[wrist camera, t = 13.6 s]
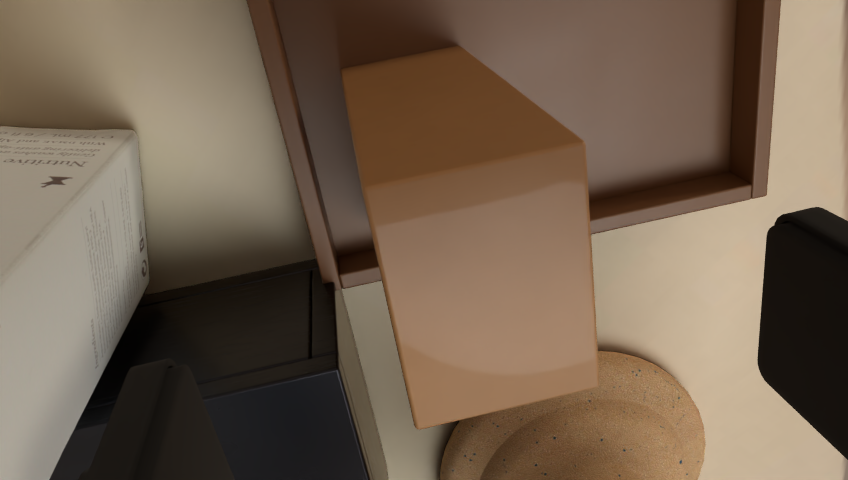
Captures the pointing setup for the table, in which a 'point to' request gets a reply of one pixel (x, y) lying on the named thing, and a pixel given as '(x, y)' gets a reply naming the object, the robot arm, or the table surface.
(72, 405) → the cosmetic box
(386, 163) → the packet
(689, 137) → the tray
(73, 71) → the table surface
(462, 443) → the candle holder
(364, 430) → the black drawer housing
